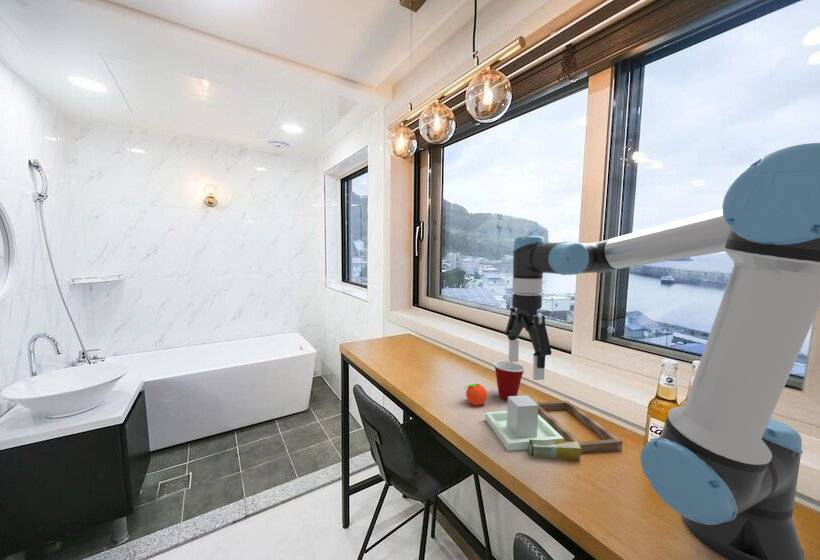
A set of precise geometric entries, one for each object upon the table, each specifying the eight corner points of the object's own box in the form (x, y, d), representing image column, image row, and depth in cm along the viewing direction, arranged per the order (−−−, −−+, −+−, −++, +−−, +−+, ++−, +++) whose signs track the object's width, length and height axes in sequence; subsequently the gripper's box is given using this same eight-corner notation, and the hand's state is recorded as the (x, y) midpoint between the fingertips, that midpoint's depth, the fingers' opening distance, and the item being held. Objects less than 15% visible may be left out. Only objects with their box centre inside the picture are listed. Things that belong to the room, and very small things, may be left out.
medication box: (530, 460, 79) (531, 446, 78) (527, 452, 81) (528, 438, 80) (580, 462, 78) (582, 448, 77) (576, 454, 80) (577, 440, 79)
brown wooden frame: (621, 450, 82) (622, 441, 82) (578, 454, 80) (579, 445, 80) (567, 407, 104) (567, 400, 104) (532, 410, 103) (532, 403, 102)
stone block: (537, 436, 86) (538, 405, 86) (516, 438, 86) (517, 406, 85) (526, 424, 92) (527, 395, 91) (506, 426, 91) (507, 396, 91)
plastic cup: (530, 398, 111) (531, 365, 110) (513, 408, 104) (514, 373, 103) (503, 387, 119) (504, 357, 118) (486, 396, 112) (487, 363, 111)
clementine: (464, 409, 103) (464, 388, 102) (461, 399, 110) (461, 379, 109) (488, 409, 103) (489, 388, 102) (484, 399, 110) (484, 379, 109)
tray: (563, 449, 83) (563, 438, 82) (507, 454, 80) (508, 443, 80) (532, 418, 98) (532, 409, 97) (485, 421, 96) (485, 412, 95)
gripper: (569, 299, 73) (565, 387, 75) (517, 288, 98) (516, 354, 100) (539, 300, 72) (536, 389, 74) (495, 288, 97) (493, 356, 99)
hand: (524, 369), depth 87 cm, fingers open, 13 cm apart
